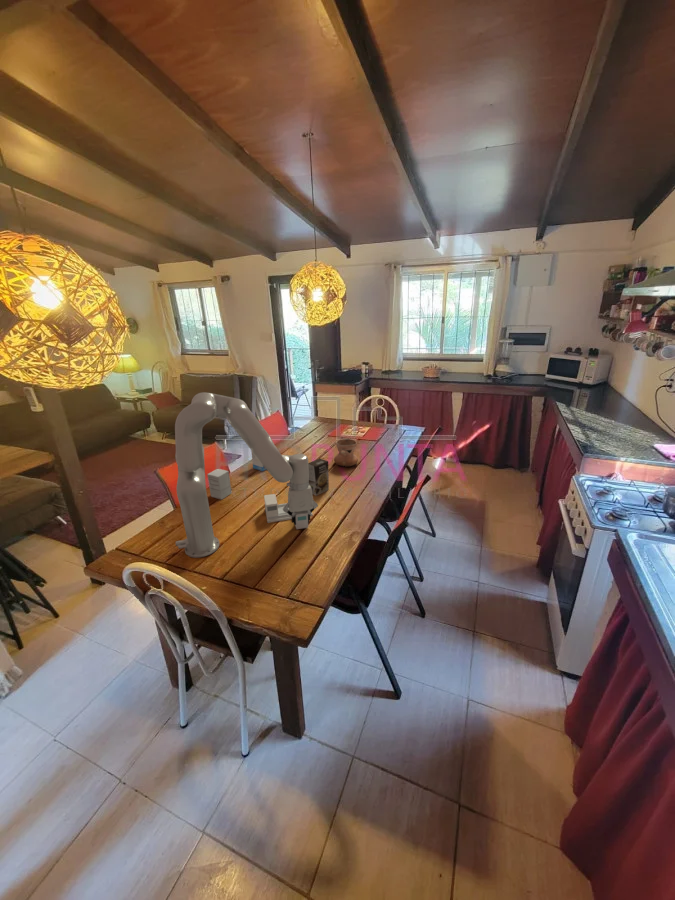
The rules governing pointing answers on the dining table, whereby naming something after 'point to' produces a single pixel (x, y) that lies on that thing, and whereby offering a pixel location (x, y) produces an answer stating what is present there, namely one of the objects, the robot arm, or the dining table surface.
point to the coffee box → (318, 476)
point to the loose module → (301, 519)
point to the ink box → (257, 463)
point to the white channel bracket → (275, 509)
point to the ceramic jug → (346, 452)
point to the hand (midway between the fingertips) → (301, 522)
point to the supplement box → (219, 483)
